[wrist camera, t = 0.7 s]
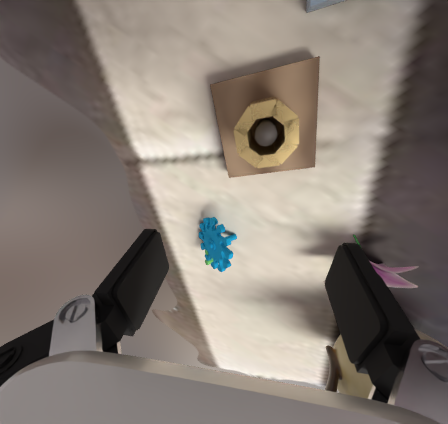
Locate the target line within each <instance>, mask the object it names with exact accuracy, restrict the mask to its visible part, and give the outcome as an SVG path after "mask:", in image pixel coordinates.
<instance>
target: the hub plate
mask: <svg viewBox="0 0 448 424" xmlns="http://www.w3.org/2000/svg"><path fill="white" fill-rule="evenodd" d="M342 1H345V0H307V10H306V13H308V12H311V11H314V10H317V9H320V8H323V7H326V6H330V5H333V4H336V3H339V2H342Z"/></svg>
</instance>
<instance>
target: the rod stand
mask: <svg viewBox="0 0 448 424" xmlns="http://www.w3.org/2000/svg"><path fill="white" fill-rule="evenodd" d="M319 58H320V56H319V57H315V58H311V59H307V60H303V61H299V62H296V63H292V64H288V65H284V66H280V67H276V68H272V69H269V70H265V71H261V72H257V73H253V74H249V75H245V76H242V77H238V78H234V79H230V80H226V81H222V82H218V83H215V84H211V85H210V87H211V92H212V97H213V102H214V107H215V112H216V116H217V121H218V126H219V131H220V136H221V141H222V146H223V151H224V156H225V161H226V166H227V171H228V176H229V178H231V177H239V176H247V175H255V174H263V173H271V172H279V171H287V170H295V169H303V168H311V167H315V154H316V130H317V106H318V82H319ZM270 97H275V98H276V97H277V98H278V99H279V100H280V101H281V102H283V103H284V104H285V105H286V106H287V107H289V108H290V109H291V110H292V111H293V112H294V113H295V114H296V115H297V116H298V118H299V144H297V145H298V147H297V148H296V149H295V150H294V151H293V152H292V153H291V155H290V156H289V157H288V158H287V159H286V160H285V161H284V162H283V163H282V164H280V165H279V166H271V167H264V168H257V167H256V168H255V167H254V166H252V165H251V164H250V163H248V162H247V161H246V160H244V159H243V158H242V157H240V156H239V153H238V154H237V148H236V142H235V136H234V128H235V126H236V124H237V123H238V121H239V120H240V118H241V117H242V115H243V114H244V112H245V110H246V109H247V107H248V106H249V105H250V103H252V102H253V101H256V100H261V99H265V98H270ZM281 132H282V130H281V123H280V122H279V121H278V120H276V119H275V118H274V117H273V116H270V117H265V118H260V119H256V121H255V122H254V123H253V125H252V126H251V136H252V138H253V139H254V140H256V141H257V143H258V144H259V145H261V146H269V145H271V144H273V143H274V142H275V140H276V138H277V137H278V136H279V135H280V133H281Z"/></svg>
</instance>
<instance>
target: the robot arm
mask: <svg viewBox="0 0 448 424" xmlns="http://www.w3.org/2000/svg"><path fill="white" fill-rule="evenodd" d="M168 270H169V264H168V260H167V257H166V253H165V249H164V246H163V242H162V239H161V235H160V233H159V232H157V230H155V229H145V230H143V232H142V233H141V234H140V236H139V237H138V238H137V239H136V241H135V242H134V243H133V244H132V245H131V247H130V248H129V249H128V250H127V252H126V253H125V254H124V256H123V257H122V258H121V259H120V261H119V262H118V263H117V264H116V266H115V267H114V268H113V269H112V271H111V272H110V273H109V274H108V276H107V277H106V278H105V279H104V281H103V282H102V283H101V284H100V286H99V287H98V288H97V289H96V291H95V293H94V294H93V295H92V296H90V295H80V296H77V297H75V298H73V299H71V300H69V301H68V302H66V303H65V304H64V305H63V306H62V307H61V308H60V309H59V310H58V312H57V313H56V315H55V318H54V320H52V321H50V322H48V323H46V324H44V325H42V326H40V327H38V328H36V329H34V330H32V331H30V332H28V333H26V334H24V335H22V336H20V337H18V338H16V339H14V340H12V341H10V342H8V343H6V344H4V345H3V346H1V347H0V424H448V349H447V348H446V347H444V346H442V345H440V344H438V343H436V342H434V341H430V340H427V339H420V337H419V336H418V334H417V333H416V331H415V329H414V328H413V326H412V325H411V323H410V321H409V320H408V318H407V317H406V315H405V314H404V312H403V310H402V309H401V307H400V306H399V304H398V302H397V301H396V299H395V298H394V296H393V295H392V293H391V291H390V290H389V288H388V287H387V285H386V284H385V282H384V280H383V279H382V277H381V276H380V275H379V274H377V272H376V271H375V269H374V268H373V266H372V264H371V263H370V261H369V260H368V258H367V256H366V255H365V253H364V251H363V250H362V248H361V247H360V245H359V244H355V243H343V244H342V246H341V245H340V246H339V247H338V249H337V252H336V254H335V257H334V259H333V262H332V264H331V267H330V270H329V272H328V275H327V277H326V280H325V287H326V290H327V294H328V297H329V300H330V303H331V306H332V309H333V312H334V315H335V318H336V321H337V324H338V327H339V331H340V334H341V337H342V340H343V343H344V346H345V349H346V352H347V355H348V358H349V360H350V362H351V363H352V364H354V365H355V368H356V371H357V373H363V374H369V377H370V380H371V382H372V384H373V386H372V389H371V392H370V394H369V397H368V399H366V398H361V397H356V396H351V395H346V394H341V393H336V392H331V391H326V390H321V389H315V388H310V387H304V386H299V385H294V384H288V383H283V382H277V381H272V380H266V379H261V378H255V377H250V376H244V375H238V374H233V373H227V372H222V371H216V370H210V369H205V368H199V367H193V366H188V365H182V364H176V363H170V362H164V361H159V360H153V359H147V358H142V357H136V356H129V355H122V353H121V345H120V340H121V338H122V336H123V335H128V336H133V335H134V333H135V331H136V330H138V329H139V328H140V327H141V325H142V322H143V321H144V319H145V317H146V315H147V313H148V311H149V308H150V306H151V304H152V303H153V301H154V299H155V296H156V295H157V292H158V290H159V288H160V286H161V284H162V282H163V280H164V278H165V276H166V274H167V272H168Z"/></svg>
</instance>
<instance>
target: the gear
mask: <svg viewBox="0 0 448 424" xmlns="http://www.w3.org/2000/svg"><path fill="white" fill-rule="evenodd" d="M203 221H204V223H201V224H200V225H199V226H200V229H201V230H202V232H199V238H200V239H202V240H203V241H204V243H201V249H202V250H204V249H205V253H206V254H205V258H206V260H205V263H206V265H209V264H211V266H212V267H213V269H216V268H218V270H219V271H220V272H223V271H225V269H226V268H228V267H230V266H231V263H230V261H229V260H228V259H231V258H232V257H233V252H232V251H231V250H229V249H228V248H227V247H226V246H228V245H231V241H232V240H235V239H237V236H236V234H233V235H230V236H227V237H222V236H221V234H220V233H222V232H225V227H224V225H223V224H221V225H218V226H217V229H216V228H215V225H216V224H217V223H218V220H217V219H216V218H215V217H213V218H204V219H203ZM218 263H219V265H218Z"/></svg>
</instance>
